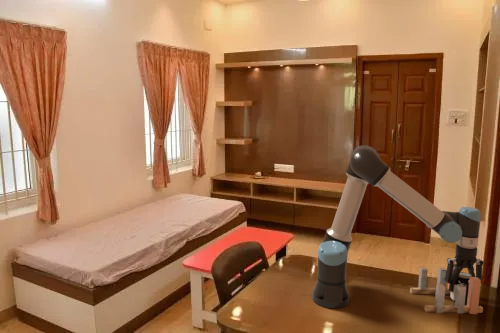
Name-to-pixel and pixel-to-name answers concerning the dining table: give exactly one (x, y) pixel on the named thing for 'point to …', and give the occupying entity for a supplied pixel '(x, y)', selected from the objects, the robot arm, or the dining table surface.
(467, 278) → the beverage can
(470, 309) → the terracotta aperture
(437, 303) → the steel collars
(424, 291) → the oak channel
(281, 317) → the dining table surface
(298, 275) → the dining table surface
